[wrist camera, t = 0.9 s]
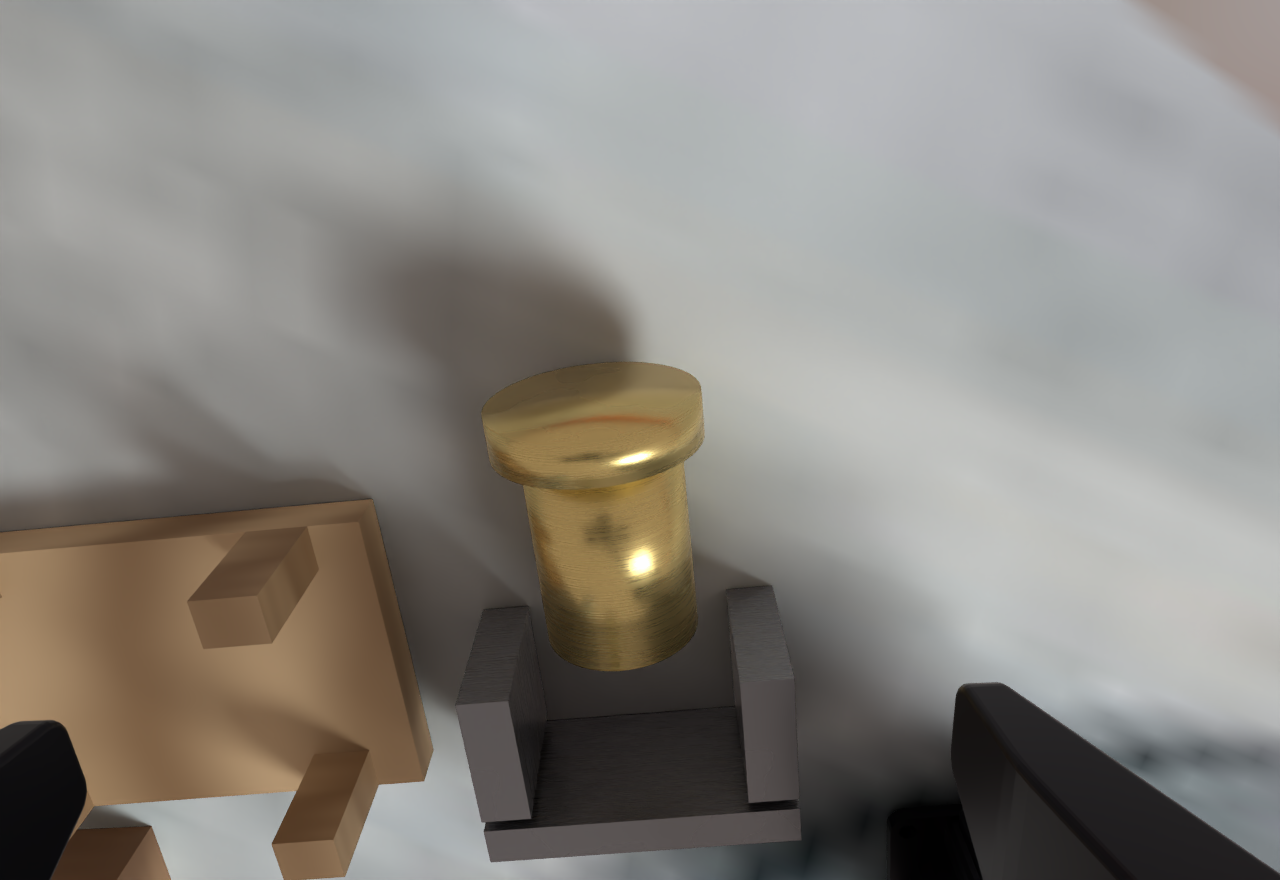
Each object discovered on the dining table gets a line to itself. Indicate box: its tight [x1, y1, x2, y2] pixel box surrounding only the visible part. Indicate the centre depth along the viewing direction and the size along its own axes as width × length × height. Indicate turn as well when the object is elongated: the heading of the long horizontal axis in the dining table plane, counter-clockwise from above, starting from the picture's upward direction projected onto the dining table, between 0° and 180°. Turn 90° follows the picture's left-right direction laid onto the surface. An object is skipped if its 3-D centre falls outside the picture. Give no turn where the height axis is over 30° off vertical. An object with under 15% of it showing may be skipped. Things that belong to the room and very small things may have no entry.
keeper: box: [455, 586, 801, 862], centre depth 23 cm, size 5×8×4 cm, turn 96°
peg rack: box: [0, 499, 433, 880], centre depth 22 cm, size 12×8×4 cm, turn 96°
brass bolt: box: [481, 362, 705, 671], centre depth 20 cm, size 6×5×5 cm
